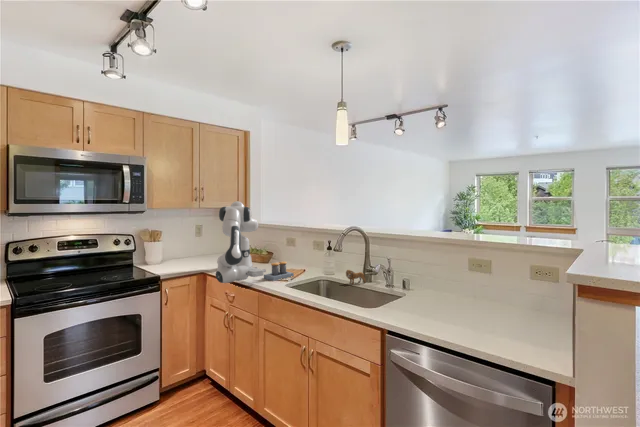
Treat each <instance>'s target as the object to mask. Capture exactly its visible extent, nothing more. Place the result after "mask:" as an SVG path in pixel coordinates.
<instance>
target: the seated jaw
mask: <svg viewBox="0 0 640 427" xmlns="http://www.w3.org/2000/svg"><path fill="white" fill-rule="evenodd" d="M278 263H279V273H280V274H286V271H287V263H288V262H287V261H278Z"/></svg>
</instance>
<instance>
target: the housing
mask: <svg viewBox="0 0 640 427" xmlns="http://www.w3.org/2000/svg"><path fill="white" fill-rule="evenodd" d="M291 276H294V272H291V271H287V270H286V274H280V273H279V275H277V276H273V275H272V272H270V273H266V274H264V273H263V279H265V280H267V281H268V280H269V281H272V282H275V281H279V280H278V279H281V278H285V279H288V278H287V277H290V278H292V277H291ZM294 277H295V276H294ZM281 280H282V279H281Z"/></svg>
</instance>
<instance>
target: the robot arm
mask: <svg viewBox="0 0 640 427" xmlns="http://www.w3.org/2000/svg"><path fill="white" fill-rule="evenodd" d="M252 215H253V214H252V210H251V208H250V207H248V206H245V205H244V203H242V201H239V200H237V201H234V202H232V203H231V205H230V206H223V207H220V208H219V211H218V217H219V220H220V221H221V222H222V226H221V227H222V229H221V230H222V232H223V234H224V235H225V236H227V237H229V247H228V248H227V250H226V251H225V252H224V253H222V254H221V255H220V256H219V257H218V259H217V262H216V263H217V269H216V272H215V278H216V280H217V281H218V282H219V283H220V284H228V283H229V284H230V283H234V282H236V281H237V282H239V281H244V280H247V279H248V277H252V278H257V277H262V276H263V277H264V273H266V272H267V269H266V268H263V269H260V268H258V267H257V266H254V264H253V263H252V255H251V249H250V239H249V238H248V237H247V236H244V235H243V234H242V233H250V232H255V231H257V230H258V228H259V225H260V224H259V221H258V220H257V218H254V217H252Z"/></svg>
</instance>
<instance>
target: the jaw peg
mask: <svg viewBox="0 0 640 427" xmlns="http://www.w3.org/2000/svg"><path fill="white" fill-rule="evenodd" d="M270 265H271V273H272V275H273V276H277V275H279V262H271V263H270Z"/></svg>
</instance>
